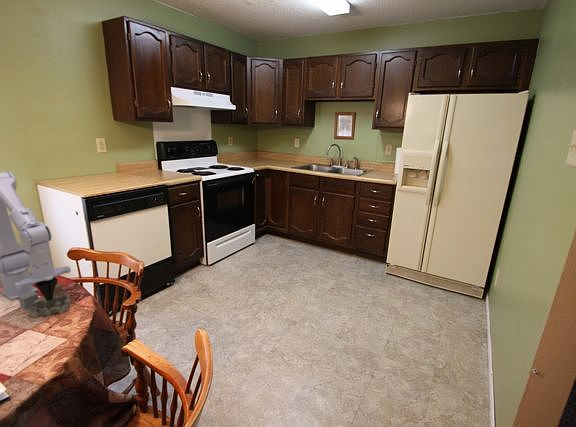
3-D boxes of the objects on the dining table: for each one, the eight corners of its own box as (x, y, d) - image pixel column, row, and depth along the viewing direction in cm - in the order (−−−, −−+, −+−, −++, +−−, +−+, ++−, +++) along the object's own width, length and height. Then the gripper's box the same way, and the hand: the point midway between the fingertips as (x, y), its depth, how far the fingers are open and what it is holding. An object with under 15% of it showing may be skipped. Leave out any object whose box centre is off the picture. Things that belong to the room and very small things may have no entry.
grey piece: (27, 320, 99) (24, 309, 97) (35, 307, 105) (33, 297, 104) (67, 313, 102) (65, 302, 101) (72, 301, 109) (70, 291, 108)
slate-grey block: (20, 305, 105) (18, 295, 104) (34, 300, 109) (32, 290, 108) (25, 309, 104) (23, 299, 102) (39, 304, 107) (37, 293, 106)
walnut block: (46, 296, 112) (44, 286, 111) (58, 291, 115) (56, 281, 114) (51, 299, 110) (49, 289, 109) (64, 294, 113) (62, 284, 112)
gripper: (18, 274, 91) (28, 314, 95) (72, 257, 103) (78, 293, 107) (8, 268, 94) (18, 306, 98) (61, 252, 106) (68, 287, 110)
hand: (49, 299), depth 103 cm, fingers closed
